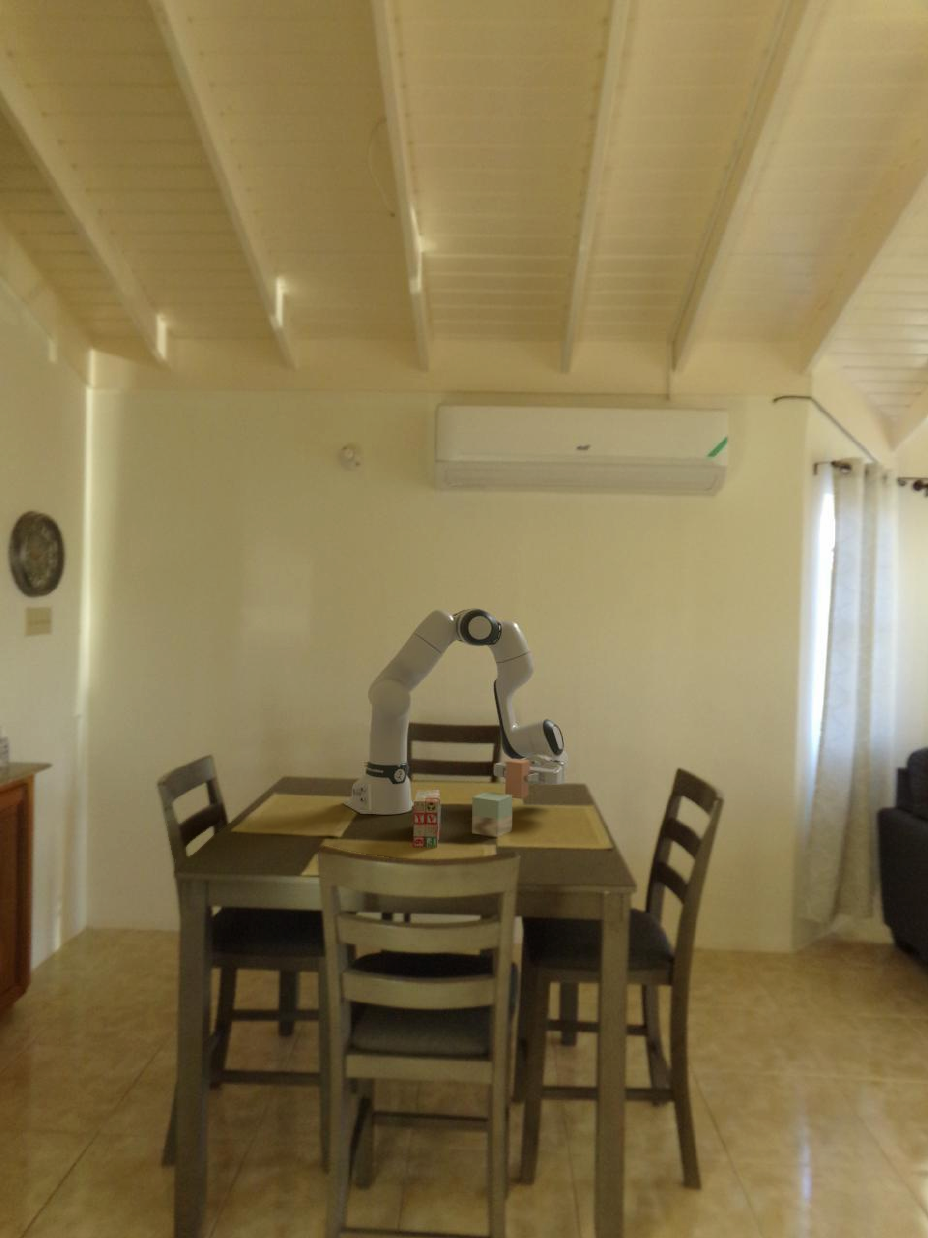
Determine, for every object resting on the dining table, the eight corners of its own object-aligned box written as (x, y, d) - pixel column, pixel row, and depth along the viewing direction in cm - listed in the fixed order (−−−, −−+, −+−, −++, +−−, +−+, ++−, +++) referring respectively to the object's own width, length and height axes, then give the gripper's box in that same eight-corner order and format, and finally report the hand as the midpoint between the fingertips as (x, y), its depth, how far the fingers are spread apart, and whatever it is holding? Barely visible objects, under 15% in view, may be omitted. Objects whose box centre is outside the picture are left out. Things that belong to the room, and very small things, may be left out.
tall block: (505, 796, 264) (506, 761, 264) (513, 793, 269) (514, 758, 268) (521, 799, 262) (522, 763, 261) (528, 795, 266) (530, 760, 266)
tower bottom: (471, 833, 253) (472, 815, 253) (486, 827, 260) (486, 809, 260) (497, 838, 249) (498, 819, 249) (511, 831, 256) (512, 813, 256)
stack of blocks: (418, 826, 260) (418, 782, 260) (440, 826, 260) (441, 782, 260) (412, 848, 239) (413, 800, 238) (437, 848, 239) (438, 800, 238)
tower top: (472, 815, 253) (472, 797, 253) (486, 809, 260) (486, 791, 260) (498, 819, 249) (498, 800, 249) (512, 813, 256) (512, 795, 256)
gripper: (506, 754, 281) (484, 761, 269) (569, 763, 271) (549, 770, 259) (505, 775, 281) (483, 783, 269) (568, 784, 271) (548, 793, 259)
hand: (516, 777), depth 264 cm, fingers closed on tall block, 5 cm apart
